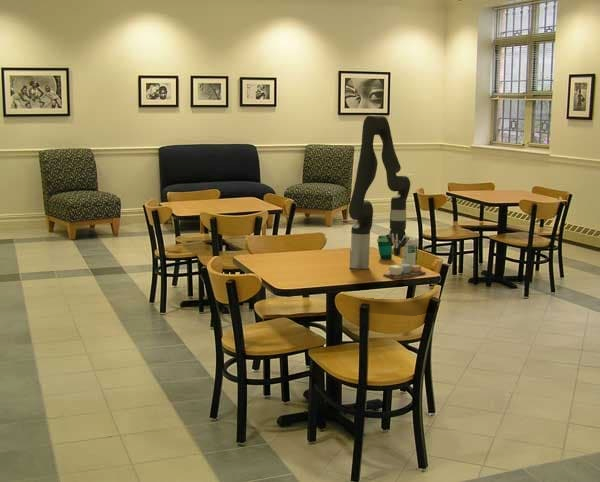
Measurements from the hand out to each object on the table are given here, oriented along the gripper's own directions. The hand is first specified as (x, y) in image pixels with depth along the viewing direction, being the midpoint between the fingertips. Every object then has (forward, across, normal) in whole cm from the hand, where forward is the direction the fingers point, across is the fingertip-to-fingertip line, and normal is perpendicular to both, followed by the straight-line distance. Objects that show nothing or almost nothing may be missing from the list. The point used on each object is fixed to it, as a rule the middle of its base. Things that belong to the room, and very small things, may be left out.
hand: (396, 255), depth 376 cm
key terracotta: (+10, 0, -13) cm, 16 cm away
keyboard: (+10, 0, -6) cm, 12 cm away
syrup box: (+10, +12, -24) cm, 29 cm away
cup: (+10, +33, -28) cm, 44 cm away
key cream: (+9, 0, 0) cm, 9 cm away
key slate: (+9, 0, -6) cm, 11 cm away
